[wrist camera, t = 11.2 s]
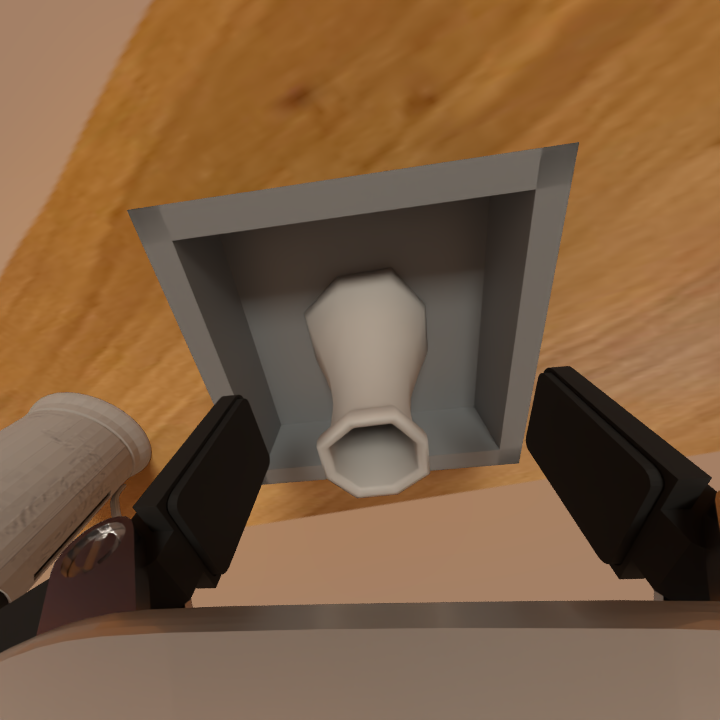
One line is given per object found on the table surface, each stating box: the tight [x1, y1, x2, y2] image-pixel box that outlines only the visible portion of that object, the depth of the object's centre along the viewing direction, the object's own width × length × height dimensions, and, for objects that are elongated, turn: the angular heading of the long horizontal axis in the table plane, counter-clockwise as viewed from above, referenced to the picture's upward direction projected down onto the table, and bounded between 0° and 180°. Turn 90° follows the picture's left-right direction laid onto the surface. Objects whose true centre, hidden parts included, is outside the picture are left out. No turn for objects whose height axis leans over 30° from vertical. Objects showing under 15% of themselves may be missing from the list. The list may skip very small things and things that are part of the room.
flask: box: [304, 268, 430, 498], centre depth 12 cm, size 7×7×10 cm
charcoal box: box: [127, 142, 579, 485], centre depth 15 cm, size 16×15×5 cm
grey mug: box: [0, 392, 151, 609], centre depth 16 cm, size 9×14×15 cm, turn 38°
